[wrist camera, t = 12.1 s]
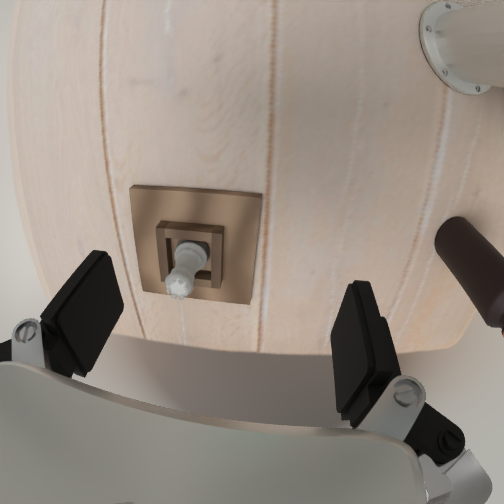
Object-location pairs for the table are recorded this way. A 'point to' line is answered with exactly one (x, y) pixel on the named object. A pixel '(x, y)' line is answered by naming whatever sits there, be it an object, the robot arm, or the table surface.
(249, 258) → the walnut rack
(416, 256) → the table surface
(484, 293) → the bottle
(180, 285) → the rook chess piece
